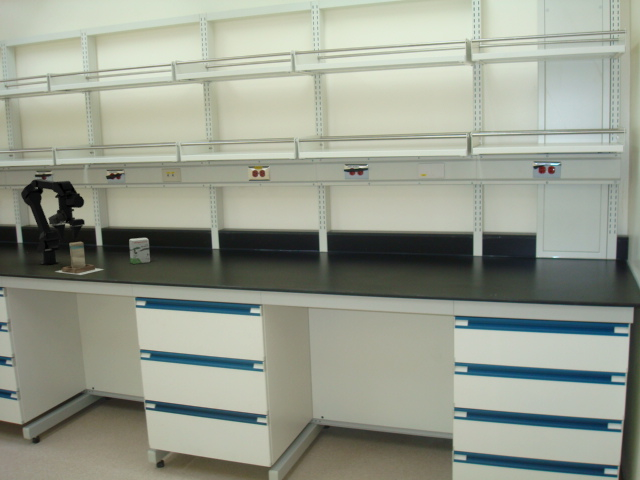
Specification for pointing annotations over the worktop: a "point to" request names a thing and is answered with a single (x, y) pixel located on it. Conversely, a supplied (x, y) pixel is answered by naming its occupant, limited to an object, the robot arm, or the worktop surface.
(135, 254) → the ink box
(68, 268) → the brown wooden tray
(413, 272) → the worktop surface
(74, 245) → the tan box
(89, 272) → the mat
